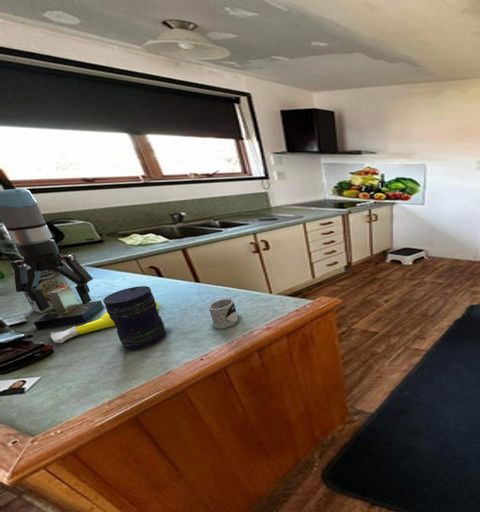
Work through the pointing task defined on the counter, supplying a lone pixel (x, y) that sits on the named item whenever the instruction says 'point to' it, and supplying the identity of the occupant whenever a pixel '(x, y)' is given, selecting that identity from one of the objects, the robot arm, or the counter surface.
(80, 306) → the dispenser panel
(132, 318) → the storage jar
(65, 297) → the small grey box
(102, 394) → the counter surface
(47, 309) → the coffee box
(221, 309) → the mug
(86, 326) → the yellow flared piece
